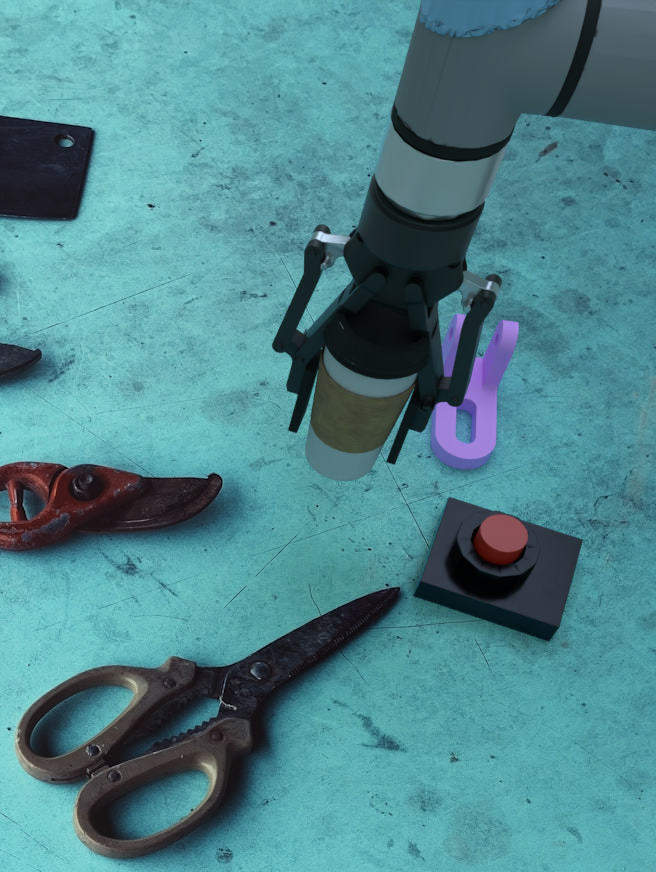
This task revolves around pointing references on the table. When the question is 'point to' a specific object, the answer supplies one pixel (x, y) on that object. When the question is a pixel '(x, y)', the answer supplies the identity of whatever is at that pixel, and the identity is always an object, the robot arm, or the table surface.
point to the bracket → (473, 398)
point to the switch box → (499, 573)
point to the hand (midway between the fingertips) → (345, 435)
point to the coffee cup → (361, 389)
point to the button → (500, 539)
